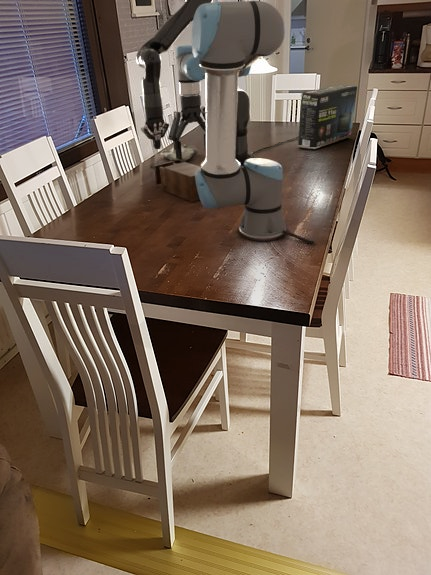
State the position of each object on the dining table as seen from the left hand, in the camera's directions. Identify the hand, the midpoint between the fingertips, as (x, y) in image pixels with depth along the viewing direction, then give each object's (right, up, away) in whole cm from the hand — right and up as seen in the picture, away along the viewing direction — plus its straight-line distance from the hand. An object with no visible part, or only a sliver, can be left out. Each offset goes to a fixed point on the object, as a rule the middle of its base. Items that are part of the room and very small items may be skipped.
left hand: (157, 148), depth 191 cm
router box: (+83, +19, +54) cm, 101 cm away
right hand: (+16, -8, -18) cm, 25 cm away
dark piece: (+6, -14, +1) cm, 16 cm away
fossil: (+6, +7, +39) cm, 40 cm away
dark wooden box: (+13, -20, -6) cm, 25 cm away
